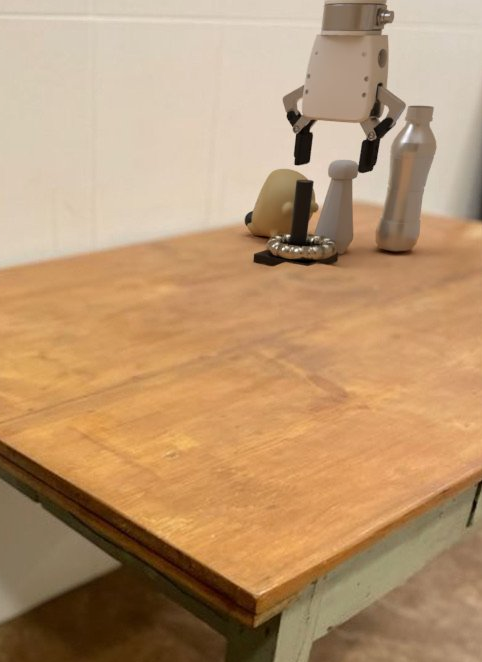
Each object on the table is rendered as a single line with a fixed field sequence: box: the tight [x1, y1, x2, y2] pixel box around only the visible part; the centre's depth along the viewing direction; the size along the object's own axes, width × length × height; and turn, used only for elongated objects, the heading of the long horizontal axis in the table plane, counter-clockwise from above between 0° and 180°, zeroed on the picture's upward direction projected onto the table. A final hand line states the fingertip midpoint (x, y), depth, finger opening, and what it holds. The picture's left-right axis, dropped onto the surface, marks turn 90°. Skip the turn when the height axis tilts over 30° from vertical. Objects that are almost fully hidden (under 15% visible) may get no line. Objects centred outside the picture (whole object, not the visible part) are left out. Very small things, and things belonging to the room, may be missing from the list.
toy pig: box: [244, 168, 320, 239], centre depth 131 cm, size 10×12×11 cm
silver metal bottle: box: [375, 105, 438, 253], centre depth 121 cm, size 6×7×20 cm
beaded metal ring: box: [265, 233, 336, 261], centre depth 119 cm, size 10×10×2 cm
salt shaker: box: [313, 159, 359, 255], centre depth 122 cm, size 6×6×13 cm
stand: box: [252, 179, 340, 267], centre depth 118 cm, size 9×9×11 cm
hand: (332, 167), depth 111 cm, fingers open, 9 cm apart
